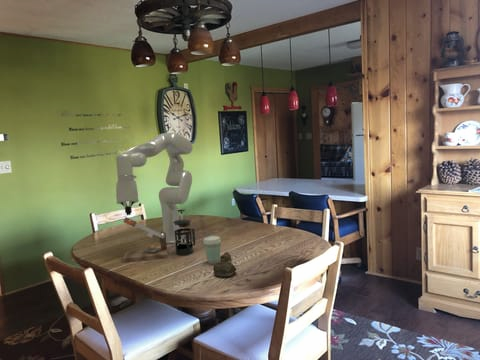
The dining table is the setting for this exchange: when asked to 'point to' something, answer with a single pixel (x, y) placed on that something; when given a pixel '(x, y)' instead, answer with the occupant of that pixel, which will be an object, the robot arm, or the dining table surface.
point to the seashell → (224, 266)
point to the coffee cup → (212, 249)
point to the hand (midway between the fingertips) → (128, 214)
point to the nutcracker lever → (144, 228)
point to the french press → (183, 245)
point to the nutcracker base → (148, 253)
